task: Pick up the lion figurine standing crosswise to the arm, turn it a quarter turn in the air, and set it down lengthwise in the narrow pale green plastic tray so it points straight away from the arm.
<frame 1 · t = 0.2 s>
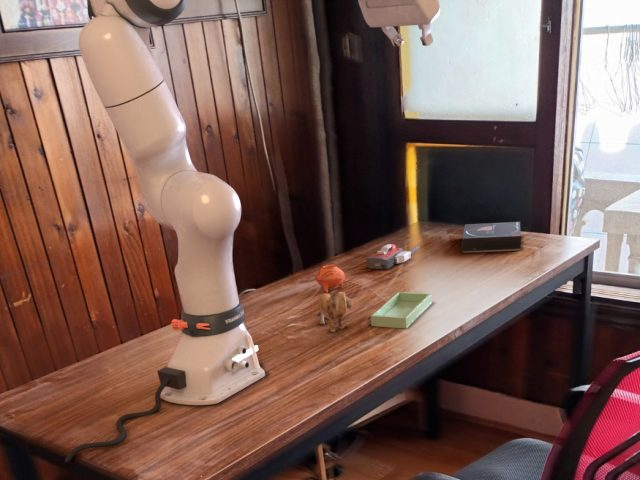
hand: (413, 44, 154), 54 cm above the table, tool tilted 30°, fingers open, 8 cm apart
lion figurine: (335, 326, 175), on the table
portable cd player: (490, 244, 223), on the table
tray: (402, 314, 178), on the table
pot: (331, 289, 198), on the table
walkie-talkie: (394, 261, 216), on the table
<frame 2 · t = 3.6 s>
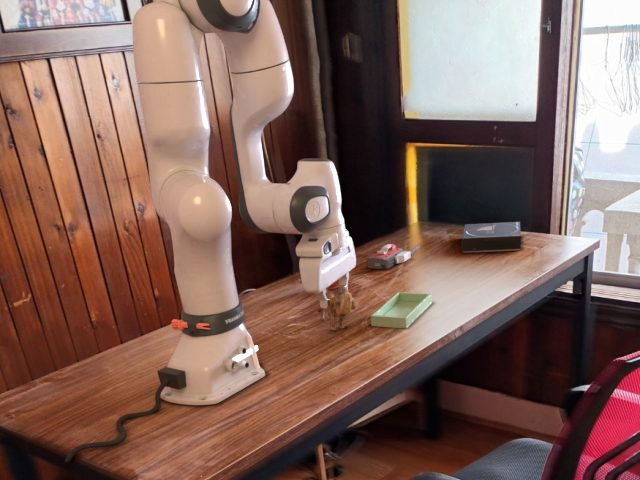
hand: (334, 299, 172), 6 cm above the table, tool pointing down, fingers open, 8 cm apart
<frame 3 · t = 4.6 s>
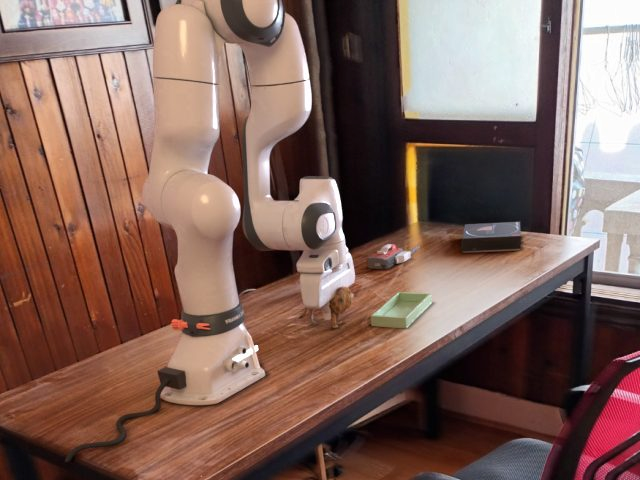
hand: (333, 315, 173), 3 cm above the table, tool pointing down, fingers closed on lion figurine, 4 cm apart
lion figurine: (328, 323, 176), on the table, touching gripper
everything else where it was.
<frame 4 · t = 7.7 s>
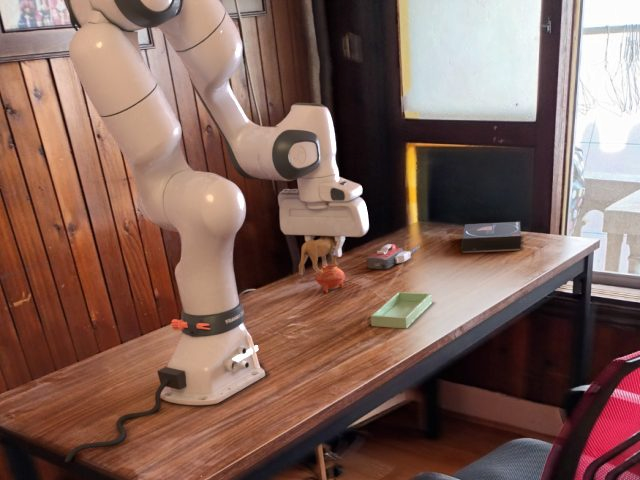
hand: (327, 255, 166), 16 cm above the table, tool pointing down, fingers closed on lion figurine, 4 cm apart
lion figurine: (321, 269, 166), point 14 cm above the table, touching gripper
everything else where it was.
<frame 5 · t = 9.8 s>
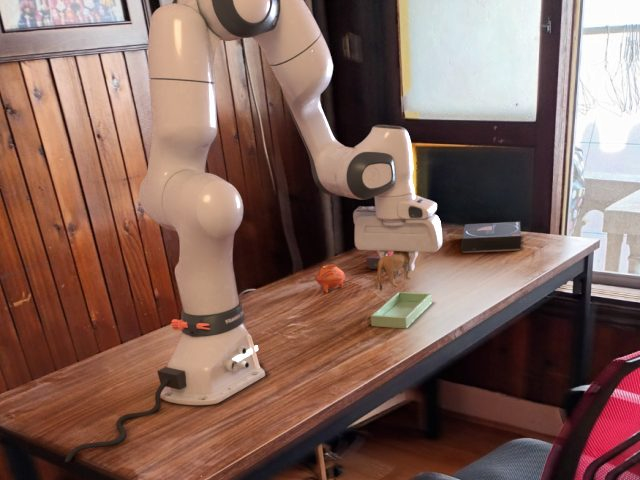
hand: (399, 270, 172), 10 cm above the table, tool pointing down, fingers closed on lion figurine, 4 cm apart
lion figurine: (394, 283, 172), point 8 cm above the table, touching gripper
everything else where it was.
when the fingers open (4 cm above the table, at t = 11.2 s): lion figurine drops 1 cm, resting on tray.
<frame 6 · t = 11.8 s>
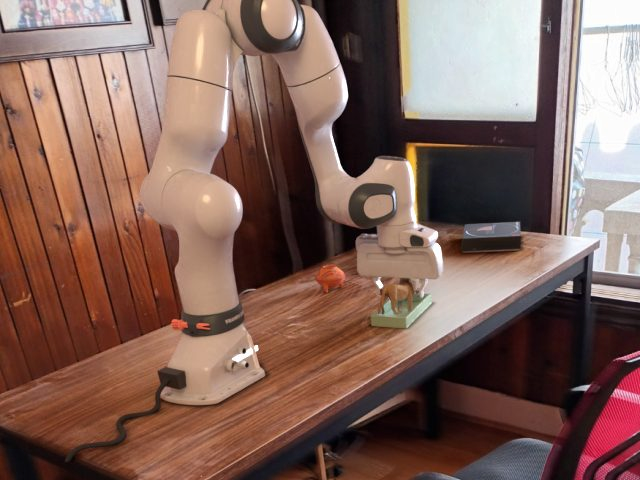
hand: (401, 295, 175), 4 cm above the table, tool pointing down, fingers open, 8 cm apart
lion figurine: (396, 313, 176), point 1 cm above the table, touching tray
everything else where it was.
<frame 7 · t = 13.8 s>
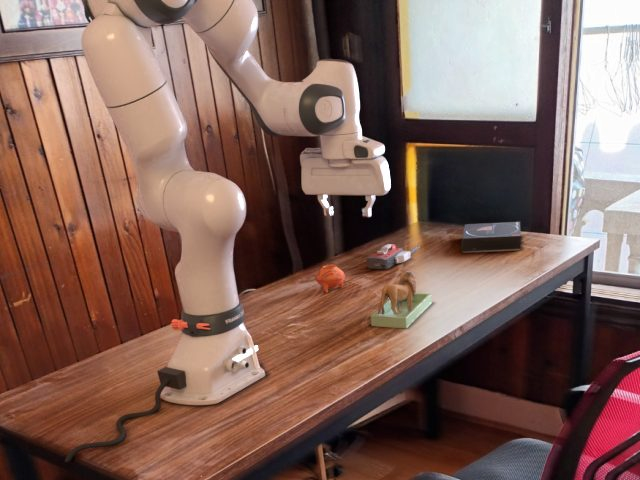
hand: (347, 216, 167), 23 cm above the table, tool pointing down, fingers open, 8 cm apart
nothing on the table moved.
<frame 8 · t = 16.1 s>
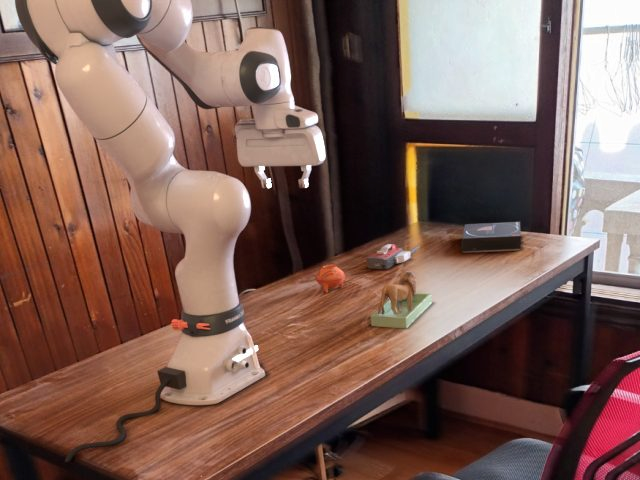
hand: (285, 187, 166), 29 cm above the table, tool pointing down, fingers open, 8 cm apart
nothing on the table moved.
at the end: lion figurine 2.3 cm off-centre in the tray, point 0.9 cm above the tray's base; lion figurine tilted 13°; the gripper is holding nothing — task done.
